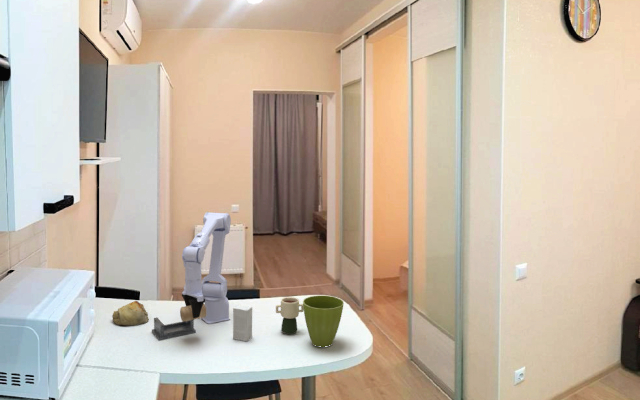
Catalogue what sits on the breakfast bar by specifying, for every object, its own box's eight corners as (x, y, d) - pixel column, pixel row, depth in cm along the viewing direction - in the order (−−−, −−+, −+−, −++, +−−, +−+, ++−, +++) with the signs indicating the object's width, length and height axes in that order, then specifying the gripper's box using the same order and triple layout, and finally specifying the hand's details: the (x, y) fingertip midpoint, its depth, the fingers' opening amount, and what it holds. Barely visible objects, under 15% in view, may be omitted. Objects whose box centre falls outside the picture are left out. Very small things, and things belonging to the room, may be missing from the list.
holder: (187, 324, 190) (187, 311, 190) (195, 332, 183) (195, 318, 182) (151, 332, 182) (151, 318, 182) (158, 340, 175) (158, 326, 174)
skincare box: (252, 337, 181) (252, 306, 179) (247, 341, 177) (247, 310, 175) (238, 334, 183) (238, 304, 181) (232, 339, 179) (232, 308, 177)
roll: (201, 315, 181) (200, 301, 180) (206, 319, 176) (206, 305, 176) (180, 319, 176) (180, 305, 176) (185, 323, 172) (185, 309, 171)
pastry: (155, 319, 196) (155, 300, 195) (132, 329, 184) (132, 309, 183) (129, 313, 201) (129, 294, 200) (105, 323, 190) (105, 303, 189)
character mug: (301, 328, 191) (302, 296, 190) (304, 335, 184) (305, 302, 183) (274, 329, 189) (274, 297, 187) (276, 336, 182) (277, 303, 180)
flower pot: (297, 337, 182) (298, 296, 180) (334, 333, 186) (336, 294, 184) (307, 354, 168) (308, 310, 166) (347, 350, 172) (349, 307, 170)
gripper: (175, 275, 178) (175, 310, 180) (189, 285, 166) (189, 323, 168) (194, 272, 182) (194, 307, 184) (209, 282, 170) (208, 319, 172)
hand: (193, 314), depth 176 cm, fingers closed on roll, 5 cm apart
